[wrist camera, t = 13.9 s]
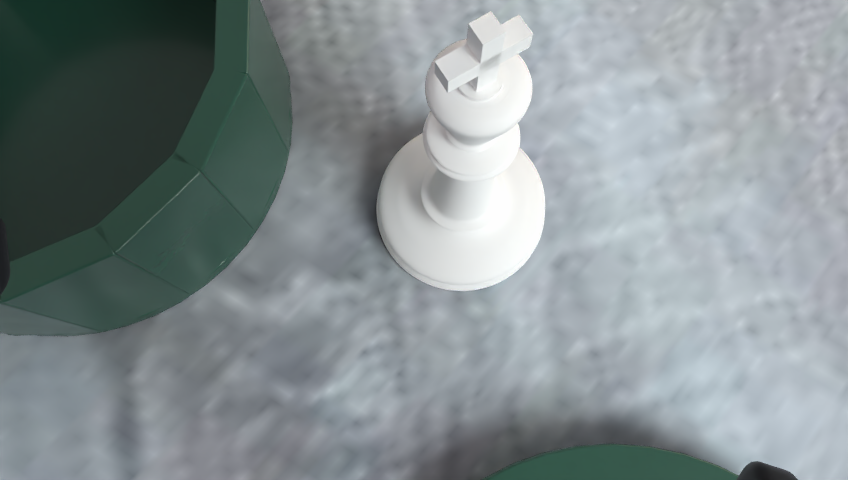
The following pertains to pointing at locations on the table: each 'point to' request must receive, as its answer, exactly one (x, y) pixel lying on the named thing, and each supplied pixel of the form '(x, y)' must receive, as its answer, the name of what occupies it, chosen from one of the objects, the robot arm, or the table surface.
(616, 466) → the lid
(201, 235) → the pot
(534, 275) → the table surface
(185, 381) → the table surface
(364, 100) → the table surface
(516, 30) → the chess piece
